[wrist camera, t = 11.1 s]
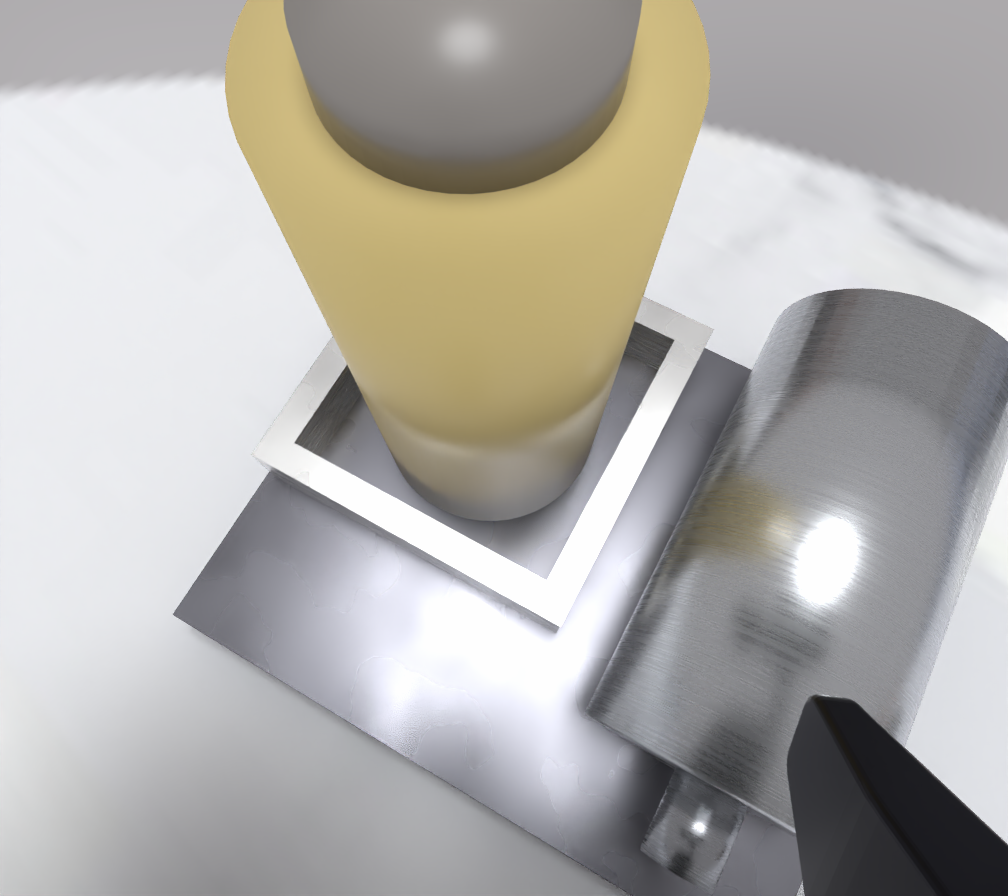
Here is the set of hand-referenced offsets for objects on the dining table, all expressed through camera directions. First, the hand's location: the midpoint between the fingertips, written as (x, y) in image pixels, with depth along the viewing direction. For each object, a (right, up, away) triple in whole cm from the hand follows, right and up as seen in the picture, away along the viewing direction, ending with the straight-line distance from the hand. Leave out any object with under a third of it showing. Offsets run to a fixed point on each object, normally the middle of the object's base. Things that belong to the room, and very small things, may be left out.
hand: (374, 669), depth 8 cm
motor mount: (+3, -1, +14) cm, 14 cm away
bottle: (+1, +3, +14) cm, 14 cm away
